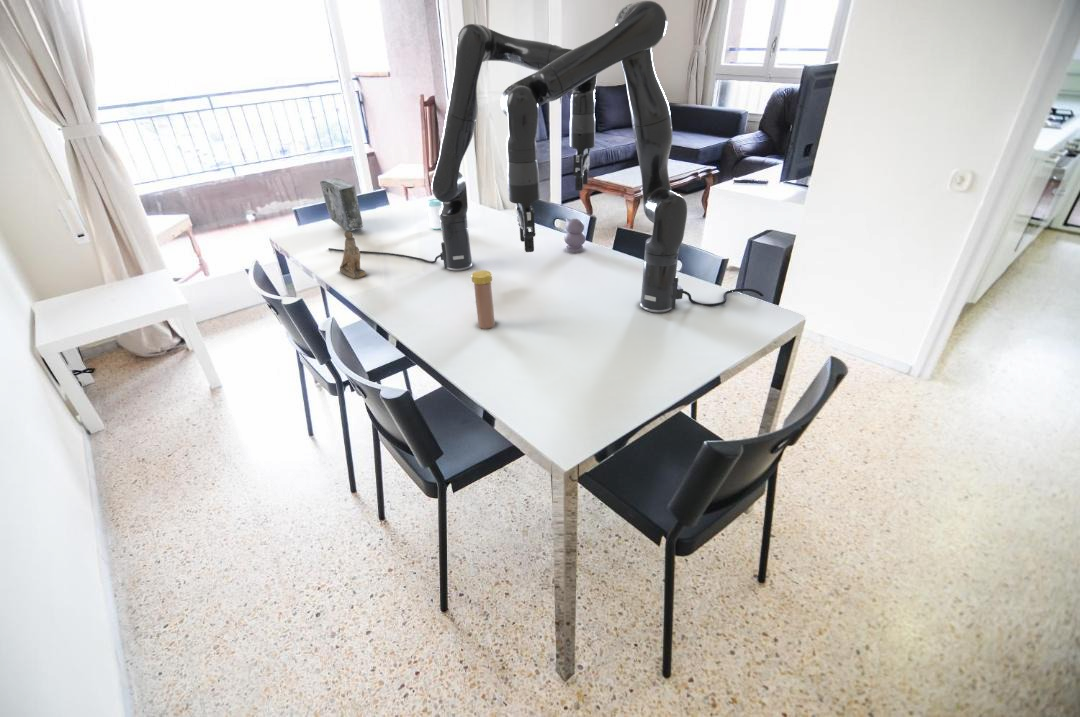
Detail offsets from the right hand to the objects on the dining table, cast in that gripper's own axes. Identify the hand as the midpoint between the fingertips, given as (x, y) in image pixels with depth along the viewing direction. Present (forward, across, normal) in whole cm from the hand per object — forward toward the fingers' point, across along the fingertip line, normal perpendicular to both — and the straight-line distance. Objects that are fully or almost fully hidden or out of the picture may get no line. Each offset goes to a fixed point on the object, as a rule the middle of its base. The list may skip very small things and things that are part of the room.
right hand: (527, 246), depth 127 cm
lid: (+8, +4, +12) cm, 15 cm away
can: (+23, +104, +27) cm, 109 cm away
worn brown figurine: (+23, +55, +57) cm, 82 cm away
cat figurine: (+24, +58, -26) cm, 68 cm away
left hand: (-6, +34, -22) cm, 41 cm away
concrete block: (+23, +114, +67) cm, 135 cm away
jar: (+23, +4, +12) cm, 27 cm away
